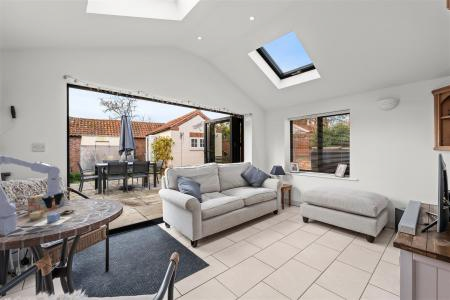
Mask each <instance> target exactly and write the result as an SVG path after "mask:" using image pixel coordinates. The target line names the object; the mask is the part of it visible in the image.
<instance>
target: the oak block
mask: <svg viewBox="0 0 450 300" xmlns="http://www.w3.org/2000/svg"><path fill="white" fill-rule="evenodd" d="M45 212H46V211H35V212H32V213H30V214H29V221H39V220H41V219H43V218H45V217H46V216H45Z"/></svg>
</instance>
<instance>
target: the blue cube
mask: <svg viewBox="0 0 450 300" xmlns="http://www.w3.org/2000/svg"><path fill="white" fill-rule="evenodd" d="M60 217H61V212H53V213H50V214H48V215H47V216H46V219H47V223H49V222H56V221H58V220H60Z"/></svg>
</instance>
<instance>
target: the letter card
mask: <svg viewBox="0 0 450 300" xmlns="http://www.w3.org/2000/svg"><path fill="white" fill-rule="evenodd" d="M71 218H72V216H60V220H58V221H56V222H49V223H47V218H46V219H44V220H41V221H40V222H38V223H35V224H34V225H33V227H42V226H45V227H46V226H55V225H57V226H58V225H61V224H63V223H64V222H66V221H68V220H69V219H71Z"/></svg>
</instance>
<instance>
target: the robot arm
mask: <svg viewBox="0 0 450 300" xmlns="http://www.w3.org/2000/svg"><path fill="white" fill-rule="evenodd" d="M2 164H3V165H9V164H10V165H11V164H13V165H17V166H21V167H25V168H30V170H31V171H32V172H37V173H40V174H47V180H46V182H47V183H46V184H47V186H46V187H47V190H46V191H47V192H46V194H45V193H43V194H44V195H43V198H42V200H43V201H44V202H45V204H46V207H47V209H48V208H52V202H53V199H55V205H60V202H61V199H62V197H63V195H65V193H64V189H60V174H61V170H60V168H59V167H57V166H55V165H52V164H47V163H43V161H34V162H31V161H27V160H24V159H21V158H19V157H14V156H12V155H11V156H10V155H2V154H0V166H1V165H2ZM51 196H54V197H51ZM16 209H17V204H16V203H14V202H13V201H11V199H10V198H9V197H8V196H7V193H6V192H5V190H4V189H3V187H2V185H1V184H0V235H8V234H10V233H12V232H14V231H16V230H17V231H18V230H19V229H21V228H22V227H21V226H18V213H17V212H16Z"/></svg>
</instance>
